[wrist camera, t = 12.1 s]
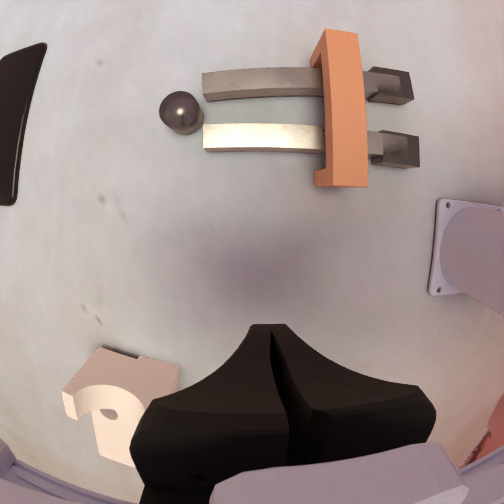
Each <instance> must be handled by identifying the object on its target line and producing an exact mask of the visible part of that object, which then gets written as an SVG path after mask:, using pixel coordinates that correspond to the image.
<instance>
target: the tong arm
mask: <svg viewBox="0 0 504 504" xmlns="http://www.w3.org/2000/svg"><path fill="white" fill-rule="evenodd" d="M362 73H363V83H364V94H365V98H369V101H376V102H386V103H394V104H402V105H404V104H406V103H408V102H410V101H412V100H414V95H413V90H412V85H411V80H410V75H409V72H404V71H399V70H393V69H387V68H381V67H372V68H371V69H370V70H369V71H368V72H365V71H362ZM202 83H203V95H204V97H205V99H206V101H214V100H223V99H234V98H246V97H262V96H295V95H310V96H324V88H323V72H322V68H304V67H279V68H253V69H239V70H227V71H218V72H209V73H202Z"/></svg>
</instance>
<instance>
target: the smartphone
mask: <svg viewBox="0 0 504 504" xmlns="http://www.w3.org/2000/svg"><path fill="white" fill-rule="evenodd" d="M46 50H47V44H46V43H38V44H35V45H32V46H29V47H26V48H23V49H21V50H18V51H15V52H13V53H10V54H8V55H6V56H4V57H3V58H2V59H1V60H0V206H12V205H13V204H14V203H15V202H16V199H17V193H18V179H19V169H20V161H21V153H22V146H23V139H24V134H25V128H26V123H27V118H28V113H29V109H30V104H31V100H32V96H33V92H34V89H35V85H36V81H37V78H38V75H39V71H40V68H41V65H42V62H43V59H44V56H45V53H46Z"/></svg>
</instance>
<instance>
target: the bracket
mask: <svg viewBox="0 0 504 504" xmlns="http://www.w3.org/2000/svg"><path fill="white" fill-rule="evenodd" d="M179 371H180V366H177V365H173V364H169V363H166V362H162V361H158V360H155V359H151V358H148V357H144V356H141V355H140V356H139V357H138V359H135V358H131V357H128V356H125V355H122V354H119V353H116V352H113V351H110V350H107V349H104V348H101V347H99V348H98V349H97V350H96V351H95V352H94V354H93V355H92V356H91V357H90V358H89V359H88V360H87V362H86V363H85V364H84V365H83V366H82V367H81V369H80V370H79V371H78V372H77V373H76V374H75V376H74V377H73V378H72V379H71V380H70V382H69V383H68V384H67V385H66V386H65V388H64V389H63V390H62V395H63V400H64V405H65V409H66V414H67V416H68V417H71V418H73V419H75V420H77V421H78V420H79V418H80V417H81V416H83V415H84V414H86V413H87V412H90V411H92V417H93V423H94V429H95V434H96V439H97V444H98V449H99V453H100V455H101V456H104V457H106V458H109V459H112V460H114V461H117V462H120V463H123V464H126V465H128V466H132V467H135V465H134V462H133V460H132V458H131V455H130V451H129V447H130V443H131V439H132V437H133V435H134V432H135V430H136V428H137V425H138V423H139V421H140V419H141V417H142V415H143V414H144V412H145V410H146V409H147V408H148V406H149V404H150V403H151V401H152V400H153V399H156V398H160V397H163V396H166V395H169V394H172V393H175V392H177V387H178V379H179ZM135 468H136V467H135Z"/></svg>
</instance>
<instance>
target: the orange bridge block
mask: <svg viewBox="0 0 504 504" xmlns="http://www.w3.org/2000/svg"><path fill="white" fill-rule="evenodd" d="M311 68H322V72H323V88H324V107H325V138H326V168H325V169H321V170H318V171H314V186H324V187H368V149H367V123H366V107H365V94H364V83H363V73H362V64H361V56H360V49H359V42H358V35H357V34H355V33H350V32H344V31H338V30H332V29H325V30H324V32H323V34H322V36H321V38H320V40H319V42H318V44H317V46H316V48H315V50H314V52H313V54H312V56H311Z"/></svg>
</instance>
